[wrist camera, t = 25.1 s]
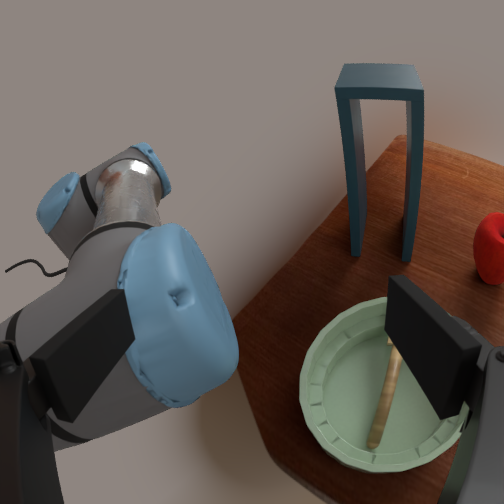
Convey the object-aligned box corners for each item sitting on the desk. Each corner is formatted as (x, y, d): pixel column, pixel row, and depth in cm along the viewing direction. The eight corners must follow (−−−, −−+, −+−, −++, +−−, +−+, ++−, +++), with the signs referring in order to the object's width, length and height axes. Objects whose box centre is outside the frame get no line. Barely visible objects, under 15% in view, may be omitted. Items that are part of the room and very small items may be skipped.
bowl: (284, 456, 32) (272, 450, 27) (329, 315, 44) (325, 287, 39) (446, 480, 23) (466, 478, 18) (465, 331, 35) (481, 304, 30)
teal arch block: (351, 256, 50) (334, 87, 30) (359, 211, 56) (344, 63, 36) (410, 262, 46) (423, 89, 26) (411, 215, 52) (414, 64, 32)
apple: (454, 268, 42) (470, 217, 34) (486, 246, 42) (501, 197, 35) (488, 307, 36) (513, 259, 28) (518, 280, 36) (542, 233, 29)
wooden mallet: (382, 450, 28) (383, 451, 27) (358, 445, 30) (358, 447, 28) (414, 318, 35) (416, 314, 34) (392, 315, 36) (393, 311, 35)
